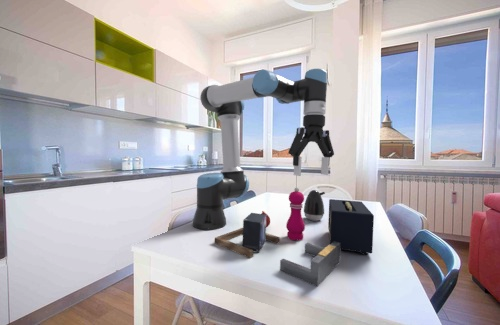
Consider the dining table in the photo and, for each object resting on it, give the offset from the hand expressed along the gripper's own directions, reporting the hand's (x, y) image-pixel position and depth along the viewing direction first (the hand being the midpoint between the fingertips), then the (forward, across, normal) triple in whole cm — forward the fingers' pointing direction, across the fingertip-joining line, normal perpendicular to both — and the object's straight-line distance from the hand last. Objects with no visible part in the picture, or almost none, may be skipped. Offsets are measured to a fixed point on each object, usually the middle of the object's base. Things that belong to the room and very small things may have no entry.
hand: (311, 175), depth 78 cm
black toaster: (+26, +15, -5) cm, 30 cm away
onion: (+26, -5, +22) cm, 34 cm away
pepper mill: (+26, +1, +8) cm, 27 cm away
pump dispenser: (+26, +26, +22) cm, 43 cm away
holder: (+26, -19, +12) cm, 34 cm away
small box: (+26, -18, +9) cm, 33 cm away
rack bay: (+26, -10, -12) cm, 30 cm away
